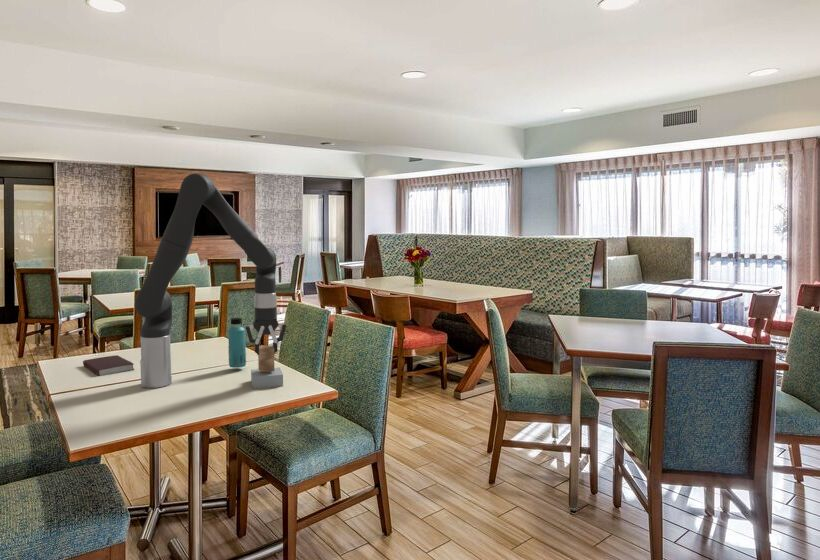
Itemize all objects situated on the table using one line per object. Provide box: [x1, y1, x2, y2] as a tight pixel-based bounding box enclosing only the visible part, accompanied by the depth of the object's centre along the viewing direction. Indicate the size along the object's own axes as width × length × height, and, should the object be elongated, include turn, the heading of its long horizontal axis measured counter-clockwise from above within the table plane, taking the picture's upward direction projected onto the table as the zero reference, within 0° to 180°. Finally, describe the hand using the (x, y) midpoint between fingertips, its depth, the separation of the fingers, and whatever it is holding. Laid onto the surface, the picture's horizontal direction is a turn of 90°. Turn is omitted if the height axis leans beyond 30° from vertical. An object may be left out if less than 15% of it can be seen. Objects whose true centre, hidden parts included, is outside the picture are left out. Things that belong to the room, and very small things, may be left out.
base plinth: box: [250, 367, 284, 389], centre depth 190 cm, size 10×10×4 cm
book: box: [82, 355, 135, 377], centre depth 207 cm, size 12×19×3 cm, turn 45°
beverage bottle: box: [227, 317, 247, 369], centre depth 206 cm, size 6×7×20 cm
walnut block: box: [257, 344, 275, 372], centre depth 189 cm, size 5×5×8 cm
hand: (266, 353), depth 189 cm, fingers closed on walnut block, 5 cm apart
